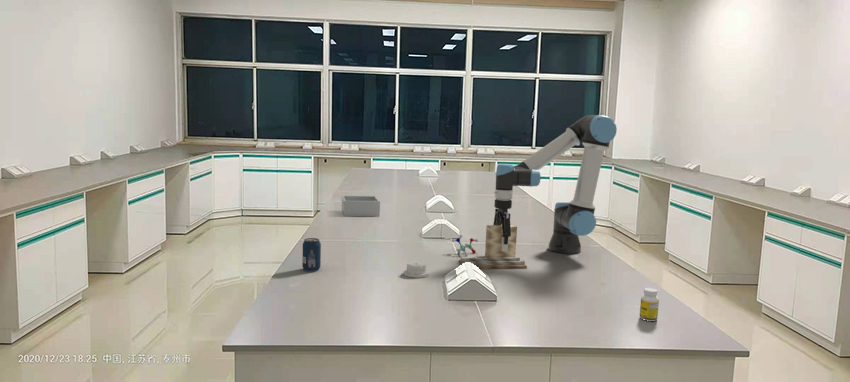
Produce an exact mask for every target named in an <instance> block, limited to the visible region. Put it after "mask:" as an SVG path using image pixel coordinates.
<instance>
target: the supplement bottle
mask: <svg viewBox="0 0 850 382" xmlns="http://www.w3.org/2000/svg"><path fill="white" fill-rule="evenodd" d="M643 293H644V294H642V295H641V298H640V308H639V319H640V318H642V319H645V320H648V321H655V320H657V321H658V316H659V303H660V298H659V297H658V296H657V295H658V290H657V289H656V288H652V287H645V288H644V289H643ZM642 319H641V320H642ZM648 321H647V322H648ZM655 322H656V321H655Z"/></svg>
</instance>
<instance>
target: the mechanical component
mask: <svg viewBox="0 0 850 382" xmlns="http://www.w3.org/2000/svg"><path fill="white" fill-rule="evenodd" d="M402 273H403V276H405V277H409V278H413V279H414V278H417V279H418V278H419V279H420V278H427V277H429V275H430V271H429V270H428V269H427V264H426V263H423V262H420V261H419V262H418V261H412V262H408V263H407V264H406V268H405V269H404V270H403V272H402Z"/></svg>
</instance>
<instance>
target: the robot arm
mask: <svg viewBox="0 0 850 382" xmlns="http://www.w3.org/2000/svg"><path fill="white" fill-rule="evenodd" d="M617 128H618V127H617V124H616V122H615V121H614V119H612V117H610V116H607V115H604V114H588V115H585V116H584V117H581V118H580V119H578V120H576V122H573V124H571V125H569V126H568V127H567V128H566V129H565V132H563V133H562V134H560V135H559V136H558V137H556V138H554V139H553V140H552V141H550V142H549V143H547V144H546V145H545V146H543V147H542V148H540V149H539V150H537V151H536V152H534V153H533V154H531V155H530V156H528V157H527V158H526V159H524V160H523V161H521V162H520V163H518V164H515V165H513V164H511V163H510V164H509V163H499V164H497V165H496V171H495V190H494V192H493V193H494V198H495V199H494V205H493V206H494V208H495V210H494V219H493V224H492V225H502V231H503V235H502V249H501V251H508V240H509V236H511V228H510V225H511V213H509V212H508V210H510V209H512V205H513V203H512V202H513V201H512V199H513V191H514V188H513V187H530V188H531V187H538V186H540V184H541V172H540V170H541V169H543V167H546V166H547V165H549V164H550V163H551V162H553V161H554V160H556V159H557V158H558V157H560V156H562V155H563V154H564V153H566V152H567V151H569V150H571V148H573V147H574V146H580V145H581V144H582V145H583V147H584V149H583V153H582V158H581V164H580V168H579V172H578V177H577V181H576V186H575V191H574V194H573V195H574V196H573V199H572V200H570V201H568V202H564V201H563V202H562V201H561V202H556V203H555V205H554V209H553V210H554V212H553V213H554V214H553V215H554V216H553V231H552V234H551V237H550V239H549V243H548V247H547V248H548V249H547V250H549V251H551V252H554V253H559V254H560V253H561V254H579V253H581V252H582V245H581V242H580V237H579V236H581V237H584V236H587V235H589V234H591V233H592V232H593V231H594V230H595V228H596V226H597V219H596V216H595V211H596V207H595V205H594V199H595V194H596V189H597V185H598V180H599V176H600V171H601V166H602V163H603V157H604V154H605V151H606V150H608V149H609V147H610V143H611V141H612V140H613V139H615V137H616V136H617V130H618V129H617ZM506 233H507V234H506Z"/></svg>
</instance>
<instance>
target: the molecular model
mask: <svg viewBox="0 0 850 382" xmlns="http://www.w3.org/2000/svg"><path fill="white" fill-rule="evenodd" d="M461 238H463V234H459V237H458V238H456V239H451V242H452V243H454V242H457V243H459V245H460V246H459V248H456V252H457V253H458V254H461V251H462V252H464V255H465V257H468V256H469V255H468V253H467V251H466V248H468V250H469V249H470V251H471V252H472V254H476V252H477V251H476V249H474V248H473V246H472V242H476V243H477V242H478V241H479V240H478V238H476V239H475V238H473V237H471V238H470V239H469V243H465V245H463V244H462V243H461Z"/></svg>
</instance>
